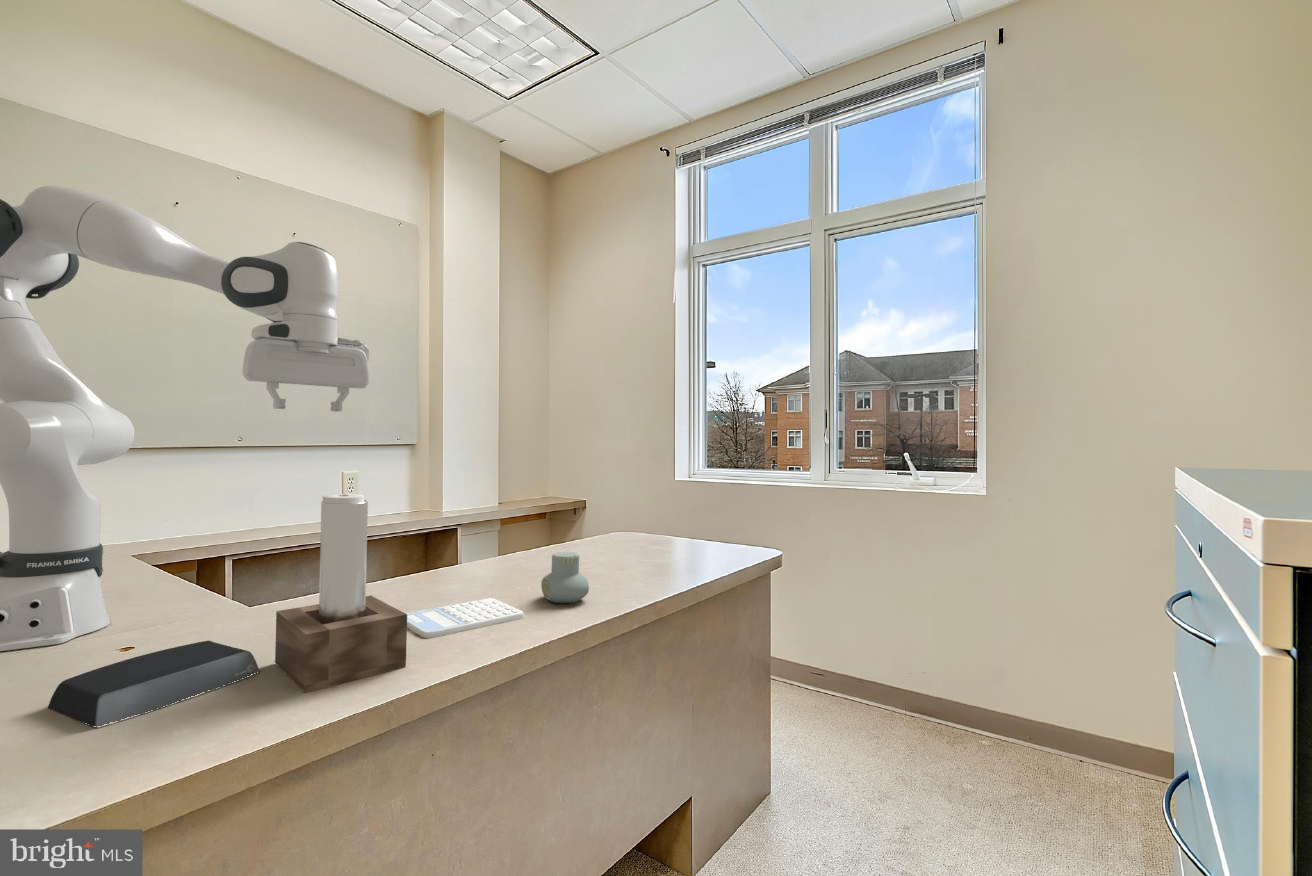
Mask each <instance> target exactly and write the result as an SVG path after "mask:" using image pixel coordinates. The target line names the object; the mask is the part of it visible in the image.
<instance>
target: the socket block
mask: <svg viewBox="0 0 1312 876" xmlns="http://www.w3.org/2000/svg"><path fill="white" fill-rule="evenodd" d="M275 614H276V616H275V617H276V619H275V646H274V648H275V650H274V651H275V652H274V653H275V655H274V659H275V660H274V664H275V663H276V664H277V665H278V666H279V667H280V668H281V669H282V670H283V671H284V672H285V673H286V674H287V675H286V674H285V673H284V672H283V671H282V670H281V669H280V668H279V667H278V666H277V665H276V664H275V665H276V666H277V667H278V668H279V669H280V670H281V671H282V672H283V673H284V674H285V675H286V677H288V676H289V677H288V678H289V679H290V678H291V679H290V680H291V681H292V680H293V681H294V682H293V681H292V682H293V683H294V684H295V683H296V684H295V685H296V686H297V685H298V686H297V688H299V689H300V690H301V691H302V692H303V693H309V692H313V691H316V690H320V689H324V688H328V687H331V686H335V685H339V684H343V683H347V682H351V681H356V680H359V679H363V678H366V677H370V676H375V675H379V674H383V673H386V672H389V671H394V670H398V669H401V668H405V667H407V642H408V641H407V640H408V639H407V636H408V633H407V631H408V627H407V614H406V613H405V612H404V611H401V610H400V609H398V608H396V607H394V606H392V605H390V604H388V603H386V602H384V601H382V600H381V599H379V598H377V597H375V596H374V595H366V605H365V617H359V618H354V619H349V620H344V621H338V622H333V623H328V624H321V623H319V603H318V604H312V605H306V606H300V607H293V608H289V609H288V608H287V609H281V610H276V612H275ZM312 690H313V691H312Z"/></svg>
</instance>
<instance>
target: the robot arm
mask: <svg viewBox="0 0 1312 876" xmlns="http://www.w3.org/2000/svg"><path fill="white" fill-rule="evenodd" d="M79 257H80V258H84V259H86V260H89V261H92V262H94V263H97V264H100V265H104V266H107V267H111V268H115V269H118V270H122V271H128V272H132V273H136V274H142V275H148V276H152V277H153V276H154V277H159V278H164V279H169V280H174V281H179V282H183V283H188V284H192V285H196V286H199V287H202V288H206V289H208V290H211V291H214V292H217V293H219V294H222V295H224V296H225V297H226V299H227V300H228V301H229V302H231V303H232V304H233V305H235V306H237V307H238V308H240V309H242V310H245V311H247V312H249V313H252V314H255V315H257V316H259V317H263V318H265V319H267V320H268V321H270V322H271V323H264V324H259V325H257V326H255V327H253V328H252V329H251V333H250V334H251V337H252V339H253V341H250V342H249V343H248V345H247V346H246V349H245V352H244V355H243V357H244V358H243V362H242V376H243V377H244V378H245V380H246V381H249V382H256V383H257V382H259V383H260V382H261V383H266V387H265V389H266V390H267V392H268V394H269V395H270V397H271V399H273V400H272V402H273V404H272V406H273V409H274V410H275V409H276V410H285V409H286V398H281V397H280V395H279V394H278V392H277V390H278V389H279V388H280V386H279V385H280V384H288V385H289V384H290V385H301V386H302V385H303V386H304V385H305V386H316V387H329V388H330V387H332V388H337V391H336V392H337V394H339V395H338V397H337V399H336V400H335V401H330V411H331V412H342V411H343V402H344V401H345V400H346V399H347V398H348V395H349V394H350V389H358V390H359V389H366V387H368V385H369V384H370V372H369V371H370V370H369V364H368V362H369V360H370V348H369V347H368V346H367V345H366V344H365V343H363V342H362V341H361V340H357V339H354V340H352V339H347V338H341V337H339V336H338V334H339V318H338V317H339V316H338V314H337V304H338V301H339V298H340V297H339V294H340V291H339V289H340V287H339V286H340V284H339V280H340V279H339V270H338V264H337V261H336V259H335V257H334V256H333V255H332V254H331V253H330V252H328V250H325V249H323V248H322V247H319V246H317V245H313V244H311V243H307V242H303V241H301V242H300V241H291V242H289V243H287V244H286V245H285V246H283V247H282V248H280V249H277V250H275V251H271V252H269V253H264V254H260V255H255V256H253V255H252V256H240V257H237V258H235V259H233V260H231V261H229V260H227V259H223V258H220V257H218V256H215V255H213V254H211V253H209V252H207V251H205V250H204V249H201V248H200V247H197V245H194V244H193V243H191V242H190V241H188V240H186V239H185V238H183V237H181V236H180V235H179V234H176V233H175V232H174V231H172V230H170V229H169V228H168V227H166V226H165V225H163V224H161V223H159V222H158V221H156V220H155V219H153V218H151V217H149V216H147V215H146V214H144V213H142V212H141V211H137V210H136V209H134V208H132V207H129V206H127V205H125V204H123V203H120V202H117V201H115V200H111V199H108V198H106V197H102V196H99V195H96V194H92V193H89V192H87V191H82V190H78V189H73V188H69V187H68V188H67V187H63V186H56V185H45V186H39V187H38V188H35V189H33V190H32V191H31V192H29V193H28V195H27V196H26V197H25V198H24V201H23V202H22V203H21V204H20V205H16V206H11V205H10V204H9V203H8V202H6V201H5V200H3V199H1V198H0V400H1V401H2V402H1V403H0V486H1V488H2V491H3V493H4V496H5V499H6V502H7V509H8V528H9V529H8V531H9V532H8V536H9V537H8V539H9V540H8V541H9V542H8V550H6V551H4V552H3V551H0V652H3V651H5V652H6V651H11V650H13V651H15V650H20V649H28V648H35V647H45V646H53V645H59V644H62V643H65V642H68V641H70V640H72V639H74V638H76V637H80V636H83V635H85V634H86V635H87V634H89V633H92V632H96V631H98V630H101V629H103V628H105V627H107V626H108V625H109V624H110V623H111V619H110V615H109V613H108V611H107V608H106V604H105V599H104V595H103V589H102V582H101V576H102V575H103V572H104V566H105V565H104V564H105V561H104V559H105V555H104V553H105V551H104V546H103V544H102V543H101V542H100V540H101V508H102V507H101V502H100V499H99V498H98V497H97V496H96V495H95V494H94V493H92V492H90V491H89V490H87V488H86V486H85V485H84V484H83V481H82V479H81V475H80V473H79V468H78V466H86V465H87V466H88V465H89V466H90V465H95V464H96V465H97V464H100V463H104V462H108V461H111V460H113V459H115V458H119V457H121V456H122V455H124V454H125V453H127V452H128V451H129V450H130V449H131V448H132V445H133V443H134V440H135V433H136V432H135V427H134V425H133V423H132V421H131V419H129V417H128V416H127V415H125V414H124V413H122V412H121V411H119V410H117V409H115V408H114V407H112V406H110V405H108V404H107V403H106V402H105V401H103V400H102V399H100V397H98V395H97V394H95V393H94V391H92V390H91V389H89V388H88V386H86V385H85V384H84V383H83V381H81V379H79V378H78V377H77V376H76V375H75V373H73V372H72V371H71V369H69V368H68V366H67V365H66V364H65V363H64V361H62V359H61V357H59V355H58V353H57V352H56V350H55V348H54V347H53V345H52V344H51V343H50V340H49V339H48V338H47V336H46V335H45V333H44V331H43V330H42V328H41V327H40V325H39V324H38V322H37V321H36V318H35V317H34V316H33V314H32V312H31V311H30V310H29V308H28V306H27V303H26V299H33V300H34V299H42V298H44V297H46V296H47V295H48V294H50V293H51V292H53V291H57V290H58V289H60V288H62V287H64V286H66V285H67V284H69V283H70V282H72V280H73V279H74V278H75V277H76V275H77V274H78V271H79V269H80V260H79Z"/></svg>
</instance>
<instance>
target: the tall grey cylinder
mask: <svg viewBox="0 0 1312 876" xmlns="http://www.w3.org/2000/svg"><path fill="white" fill-rule="evenodd" d="M320 502H321V503H320V504H321V505H320V548H319V549H320V550H319V552H320V553H319V554H320V555H319V589H318V591H319V593H318V594H319V595H318V597H319V598H318V599H319V600H318V604H319V623H321V624H328V623H333V622H338V621H344V620H349V619H354V618H359V617H365V605H366V596H367V594H366V593H367V591H366V590H367V560H368V559H367V556H368V555H367V553H368V551H367V549H368V546H367V545H368V511H369V510H368V509H369V508H368V507H369V505H368V504H369V502H368V500H367V499H365V495H364V494H360V493H359V494H358V493H334V494H333V493H332V494H326V495H323V496H322V500H321V501H320Z"/></svg>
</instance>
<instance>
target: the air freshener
mask: <svg viewBox="0 0 1312 876" xmlns="http://www.w3.org/2000/svg"><path fill="white" fill-rule="evenodd" d="M540 587H541V591H542V594H543V596H544V598H545V599H547V600H548V601H549V602H551V601H552V602H551V603H553V602H555V604H570V603H571V604H572V603H576V602H579V601H580V600H582V599H583V598H585V597H586V596H587V595H588V594H589V590H590V589H589V588H590V586H589V582H588V579H587V577H586V576H585V575H584V574H582V573H581V572H580V554H579V553H577V552H574V551H560V552H554V553H553V554H551V572H550V573H548V574H546V575H545V576H543V578H542V579H541V586H540Z"/></svg>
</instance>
